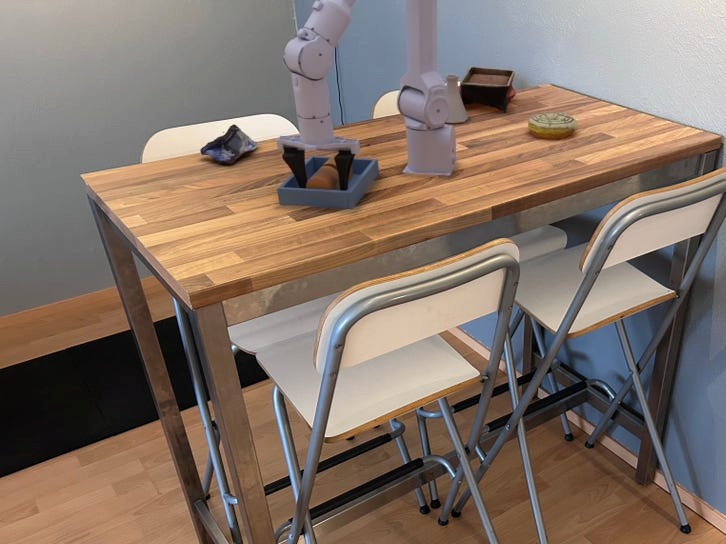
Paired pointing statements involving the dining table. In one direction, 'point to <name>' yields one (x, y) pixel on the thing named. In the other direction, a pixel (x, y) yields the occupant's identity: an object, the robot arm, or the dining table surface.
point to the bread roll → (324, 179)
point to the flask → (455, 100)
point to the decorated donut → (552, 125)
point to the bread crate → (357, 186)
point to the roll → (332, 164)
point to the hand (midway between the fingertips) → (324, 189)
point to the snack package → (229, 146)
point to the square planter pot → (487, 87)
